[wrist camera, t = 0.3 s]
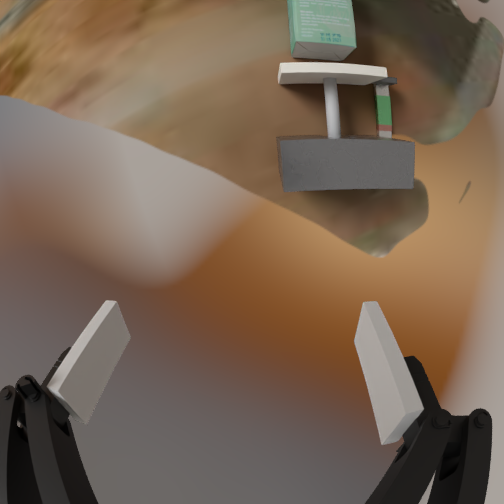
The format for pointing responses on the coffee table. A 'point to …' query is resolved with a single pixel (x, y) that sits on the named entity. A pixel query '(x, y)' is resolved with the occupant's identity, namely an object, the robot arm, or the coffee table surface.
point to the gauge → (348, 157)
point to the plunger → (332, 82)
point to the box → (321, 29)
